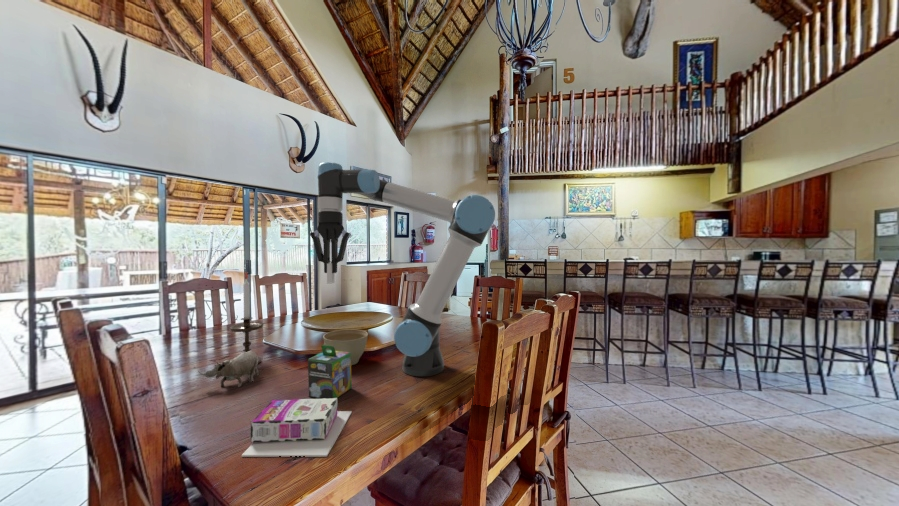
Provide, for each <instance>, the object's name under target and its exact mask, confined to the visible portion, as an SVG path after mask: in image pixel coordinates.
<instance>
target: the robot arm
mask: <svg viewBox="0 0 899 506" xmlns="http://www.w3.org/2000/svg"><path fill="white" fill-rule="evenodd" d="M317 173H318V174H317V187H318V193H317V194H318V196H317V199H318V200H317V204H318V205H317V209H318V210H319V211H318V213H317V218H318V220H317V221H318V223H317V224H318V225H317V227H316V230H314V231H313V232H310V233H309V237H311V239H312V240H313V245H314V249H315V253H316V257H317V261H318V262H321V263H323V268H324V269H323V271H324V273H325V274H326V284H335V274H337V272H338V263H339V262H343V261H344V257H345V253H346V248H347V244H348V240H349V239H350V238H351V236H352V233H351V232H348V231H346V230H345V228H344V224H343V220H344V219H343V218H344V217H343V212H342V211H343V194H359V195H361V196H364V197H367V198H368V199H370V200H372V201H379V202H382V203H385V204H388V205H391V206H396V207H397V208H398V207H399V208H402V209H406V210H409V211H412V212H415V213H419V214H422V215H426V216H429V217H432V218H435V219H439V220H443V221H446V222H448V223H449V225H448V233H449V237H448V238H447V241H446V243H445V245H444V247H443V249H442V252H441V253H440V256H439V257H438V259H437V261H436V263H435V265H434V268H433V269H432V270H431V273H430V275H429V277H428V279H427V281H426V283H425V285H424V287H423V289H422V292H421V293H420V295H419V297H418V299H417V300H416V302H415V303H411V304H410V305H409V306H408V307H407V310H406V313H405V314H404V316H403V318H402V320H401V321H400V323H399V324H398V325H397V326H396V328H395V331H394V335H393V336H394V337H393V340H394V343H395V347H396V348H397V349H398V351H399V352H401V353H402V354H403V355H404V357H403V361H402V368H401V369H402V371H403V373H405V374H406V375H409V376H413V377H420V378H421V377H422V378H423V377H431V376H436V375H439V374H440V373H442V372H443V371H444V370H445V360H444V358H443V355H442V351H441V347H440V327H441V325H442V323H443V319H442V315H441V314H442V312H443V311H444V308H445V307H446V305H447V303H448V300H449V299H450V297H451V296H452V293H453V291H454V288H455V287H456V285H457V283H458V281H459V280H460V277H461V275H462V273H463V271H464V269H465V267H466V265H467V264H468V261H469V260H470V258H471V256H472V254H473V251H474V249H475V248H478V247H480V246H482V244H483V242H484V240H485V238H486V237H487V234H488V233H489V230H490V228H491V227H492V226H493V224H494V221H495V219H496V210H495V208H494V205H493V203H492V202H491V201H490V200H489V199H488V198H486V197H485V196H483V195H480V194H479V195H478V194H471V195H467V196H466V197H464V198H463V199H459V198H458V199H456V200H452V199H449V198H445V197H442V196H439V195H434V194H431V193H428V192H424V191H421V190H418V189H414V188H411V187H407V186H405V185H400V184H397V183H393V182H389V181H386V180H383V179H380V176H379V174H378V171H377V170H375V169H368V168H363V169H343V165H342V164H340V163H336V162H320V164H319V165H318V171H317ZM320 237H321V238H322V242H323V248H322V243H321V240H320ZM340 237H342V238H341V241H340V244H339V243H338V242H339V238H340ZM338 244H339V245H340V246H339V247H338ZM338 248H339V249H338Z"/></svg>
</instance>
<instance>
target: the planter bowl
mask: <svg viewBox="0 0 899 506" xmlns="http://www.w3.org/2000/svg"><path fill="white" fill-rule="evenodd" d="M368 335H369V333H368V332H367V331H365V330H363V329H352V328H349V329H348V328H347V329H346V328H345V329H337V330H332V331H329V332H327V333H325V334H323V336H322V337H323V345H329V346H334V348H335V351H344V352H351V366H354V365H356V364H358V362H359V361H360V358H361V357H362V355H363V354H364V352H365V350H366V347H367V343H368V342H367V341H368V337H369V336H368ZM327 350H330V349H328V348H327V349H326V351H327Z"/></svg>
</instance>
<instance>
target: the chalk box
mask: <svg viewBox="0 0 899 506" xmlns="http://www.w3.org/2000/svg"><path fill="white" fill-rule="evenodd" d="M320 348H321V351H322V352H319V353H317V354H315V355H314V356H312V357H309V358H308V359H307V371H308V372H307V375H308V376H307V377H308V397H311V398H315V399H318V398H337V399H338V398H339V397H340V396H342V395H344V394H345V393H346V392H347V391H349V390H351V389H352V388H353V383H352V381H353V379H352V365H351V352H344V351H335V348H334V346H329V345H324V344H322V345H321V347H320ZM327 348H328V349H330V350H327V351H326V349H327Z"/></svg>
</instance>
